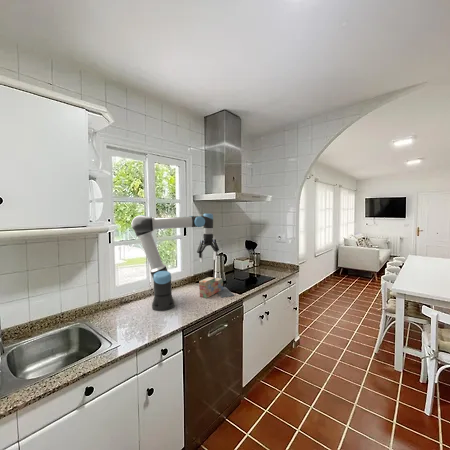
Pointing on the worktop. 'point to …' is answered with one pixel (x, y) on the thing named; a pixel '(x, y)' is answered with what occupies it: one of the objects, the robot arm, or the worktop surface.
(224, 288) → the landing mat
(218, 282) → the stack of blocks
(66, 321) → the worktop surface
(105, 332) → the worktop surface
